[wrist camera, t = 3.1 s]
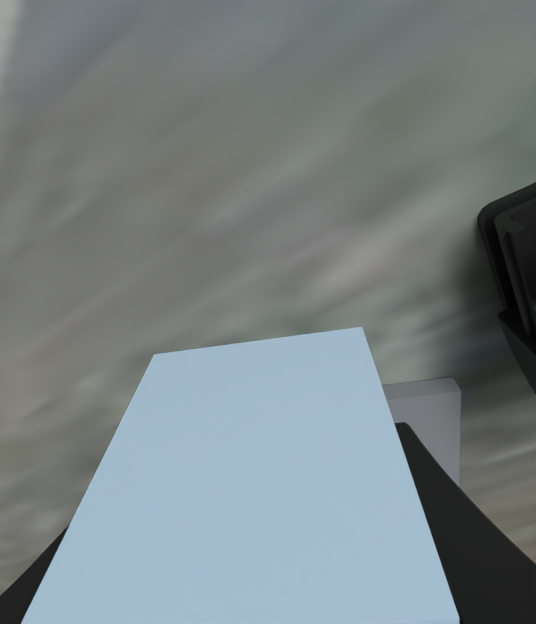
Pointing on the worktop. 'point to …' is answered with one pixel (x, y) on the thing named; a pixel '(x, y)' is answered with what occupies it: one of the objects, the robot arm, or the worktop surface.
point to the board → (431, 417)
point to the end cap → (515, 270)
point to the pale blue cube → (252, 499)
